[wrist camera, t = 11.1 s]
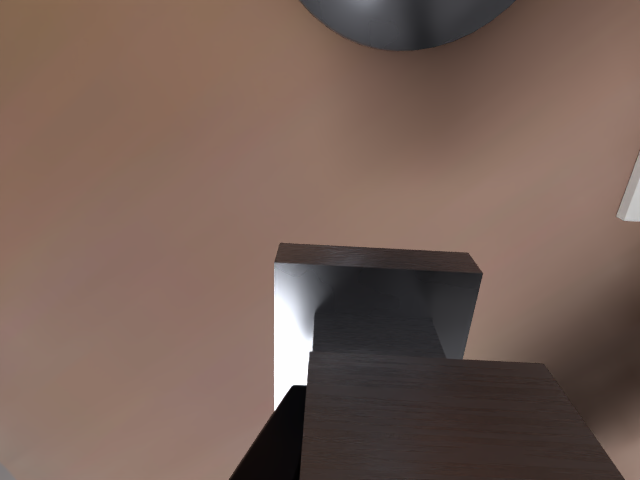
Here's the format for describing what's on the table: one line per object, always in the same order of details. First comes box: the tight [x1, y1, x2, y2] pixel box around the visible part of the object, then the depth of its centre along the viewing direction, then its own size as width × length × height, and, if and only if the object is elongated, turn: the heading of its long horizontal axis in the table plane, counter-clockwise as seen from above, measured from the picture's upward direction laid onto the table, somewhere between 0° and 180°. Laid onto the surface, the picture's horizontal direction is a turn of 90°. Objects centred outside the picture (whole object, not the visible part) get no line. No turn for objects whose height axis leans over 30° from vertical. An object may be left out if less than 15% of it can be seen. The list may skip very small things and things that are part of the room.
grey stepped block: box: [274, 243, 625, 480], centre depth 7 cm, size 7×4×7 cm, turn 177°
